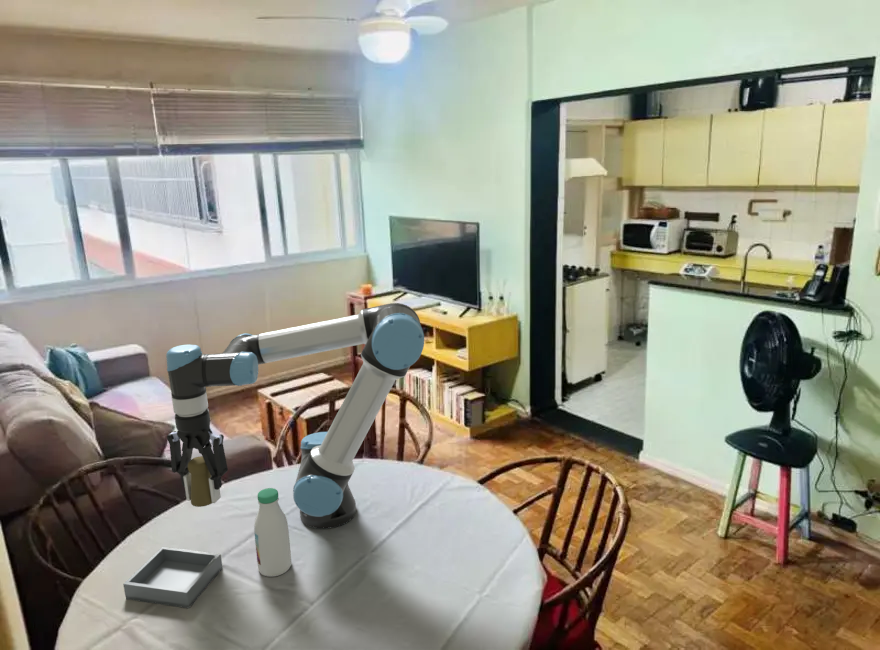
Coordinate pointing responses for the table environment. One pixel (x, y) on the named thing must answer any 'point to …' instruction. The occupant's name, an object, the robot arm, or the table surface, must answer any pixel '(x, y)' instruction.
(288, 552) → the milk bottle
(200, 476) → the cork
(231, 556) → the table surface
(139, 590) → the tray
